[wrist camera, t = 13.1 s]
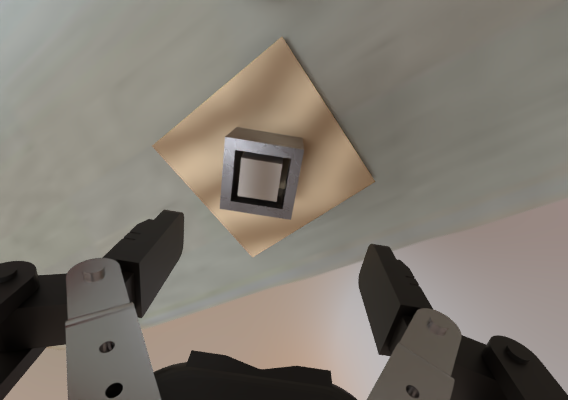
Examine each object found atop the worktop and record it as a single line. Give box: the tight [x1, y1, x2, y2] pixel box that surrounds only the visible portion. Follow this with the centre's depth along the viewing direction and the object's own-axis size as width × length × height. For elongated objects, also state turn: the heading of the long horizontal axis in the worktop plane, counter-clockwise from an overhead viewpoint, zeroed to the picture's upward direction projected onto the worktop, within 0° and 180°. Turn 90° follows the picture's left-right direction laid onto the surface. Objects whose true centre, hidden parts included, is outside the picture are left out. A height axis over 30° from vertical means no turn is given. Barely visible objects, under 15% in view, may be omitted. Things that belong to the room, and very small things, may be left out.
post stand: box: [153, 37, 375, 257], centre depth 27 cm, size 16×16×6 cm
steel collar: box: [220, 127, 304, 220], centre depth 26 cm, size 6×6×5 cm
